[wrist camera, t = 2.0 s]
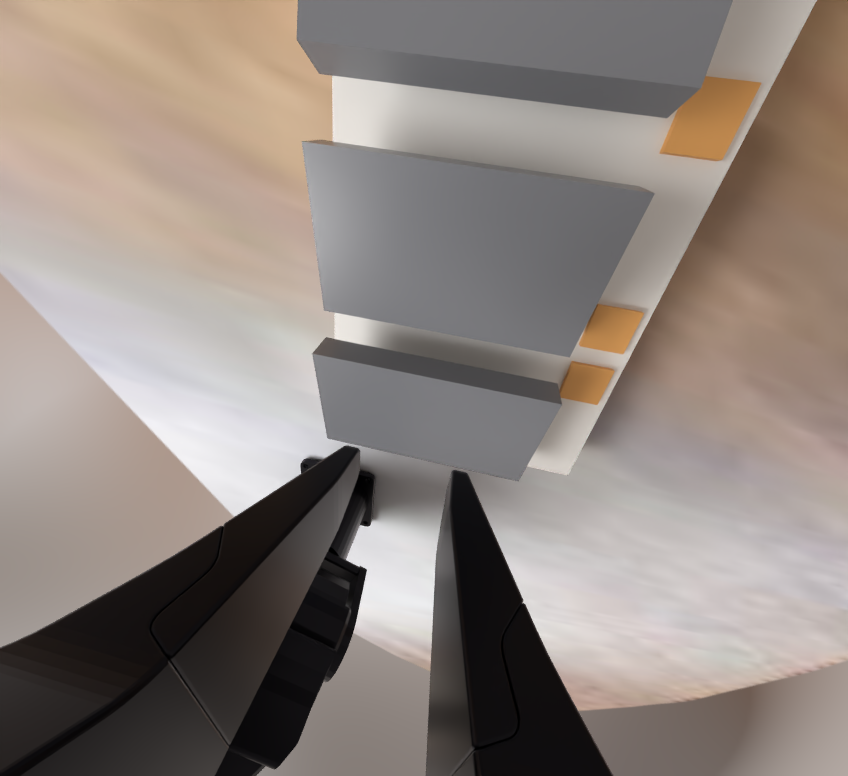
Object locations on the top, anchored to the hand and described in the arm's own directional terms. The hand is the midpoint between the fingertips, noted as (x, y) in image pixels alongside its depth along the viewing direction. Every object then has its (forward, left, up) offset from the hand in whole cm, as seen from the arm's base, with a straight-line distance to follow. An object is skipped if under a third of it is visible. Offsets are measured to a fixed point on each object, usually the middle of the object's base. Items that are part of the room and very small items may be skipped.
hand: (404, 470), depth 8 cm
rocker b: (+5, 0, -8) cm, 9 cm away
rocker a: (-3, 0, -8) cm, 8 cm away
